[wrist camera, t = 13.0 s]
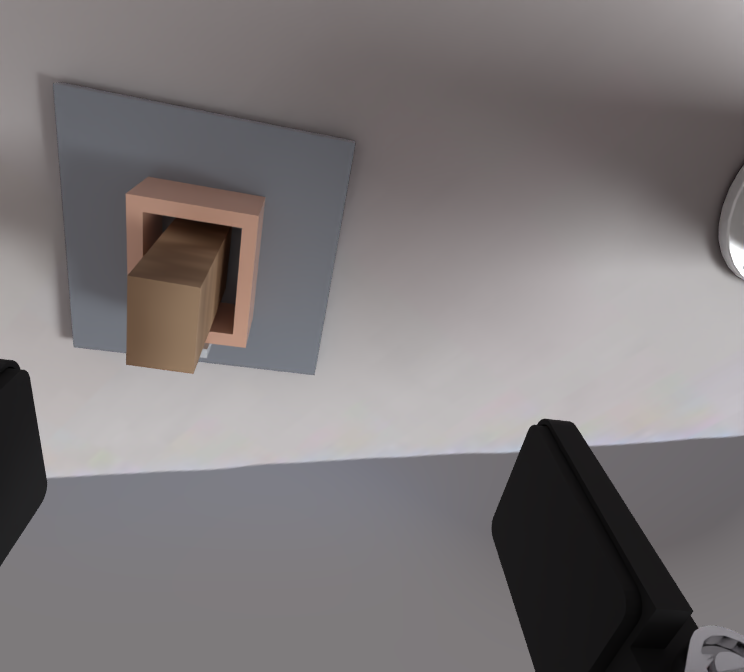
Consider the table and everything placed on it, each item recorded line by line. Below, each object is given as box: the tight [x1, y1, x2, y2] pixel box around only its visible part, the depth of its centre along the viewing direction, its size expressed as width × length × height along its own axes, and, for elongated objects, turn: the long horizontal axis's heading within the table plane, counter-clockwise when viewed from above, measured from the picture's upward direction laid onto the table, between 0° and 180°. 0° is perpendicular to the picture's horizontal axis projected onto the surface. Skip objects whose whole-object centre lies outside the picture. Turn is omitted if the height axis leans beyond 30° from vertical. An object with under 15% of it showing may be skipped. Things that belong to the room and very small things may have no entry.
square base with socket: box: [53, 82, 355, 375], centre depth 30 cm, size 16×16×6 cm
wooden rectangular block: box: [126, 217, 232, 374], centre depth 27 cm, size 3×4×10 cm, turn 167°
